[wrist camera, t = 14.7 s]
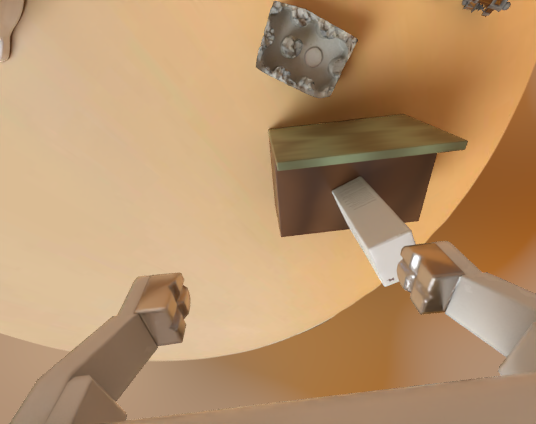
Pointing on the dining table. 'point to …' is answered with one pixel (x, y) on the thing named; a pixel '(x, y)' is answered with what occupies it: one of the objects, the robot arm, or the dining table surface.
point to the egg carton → (303, 50)
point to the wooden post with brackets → (486, 5)
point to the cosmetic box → (374, 227)
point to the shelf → (352, 167)
